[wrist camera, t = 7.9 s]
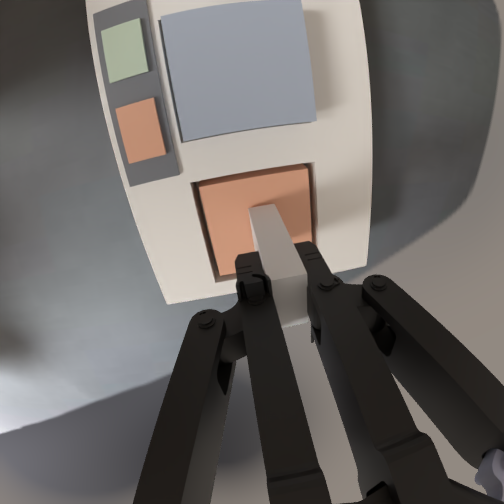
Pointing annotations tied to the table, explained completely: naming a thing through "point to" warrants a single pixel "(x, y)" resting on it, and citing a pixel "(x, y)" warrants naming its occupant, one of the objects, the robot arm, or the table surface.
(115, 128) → the keypad
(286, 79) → the slate key
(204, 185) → the terracotta key
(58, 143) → the table surface
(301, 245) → the robot arm
